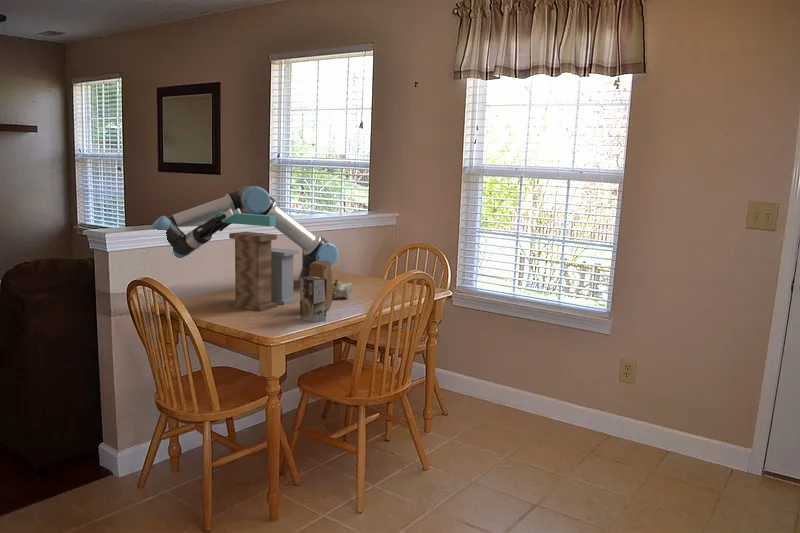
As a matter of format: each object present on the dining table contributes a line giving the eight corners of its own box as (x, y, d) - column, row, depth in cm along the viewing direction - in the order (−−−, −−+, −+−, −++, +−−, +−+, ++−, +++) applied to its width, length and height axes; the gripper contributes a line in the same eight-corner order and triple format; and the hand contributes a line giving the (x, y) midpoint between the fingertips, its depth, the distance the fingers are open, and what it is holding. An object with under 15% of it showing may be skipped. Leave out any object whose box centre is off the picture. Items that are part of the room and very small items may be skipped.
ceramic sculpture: (353, 280, 271) (319, 283, 268) (354, 300, 272) (320, 302, 269) (350, 276, 281) (317, 279, 278) (351, 295, 282) (318, 298, 279)
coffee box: (327, 320, 235) (327, 278, 233) (313, 322, 231) (313, 280, 228) (312, 315, 242) (313, 275, 239) (299, 318, 237) (299, 276, 235)
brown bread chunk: (323, 313, 247) (323, 263, 244) (306, 311, 249) (306, 262, 246) (334, 307, 257) (335, 260, 254) (318, 305, 259) (318, 258, 256)
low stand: (254, 300, 267) (254, 249, 263) (269, 296, 275) (269, 247, 272) (284, 304, 260) (284, 252, 256) (298, 300, 268) (298, 250, 265)
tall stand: (230, 306, 253) (229, 233, 249) (246, 302, 262) (245, 231, 258) (261, 311, 246) (260, 236, 242) (276, 306, 255) (276, 234, 251)
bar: (215, 221, 255) (215, 212, 255) (222, 221, 259) (222, 211, 258) (269, 226, 243) (269, 216, 242) (275, 225, 246) (275, 215, 246)
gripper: (217, 242, 270) (253, 218, 259) (187, 246, 255) (224, 221, 244) (210, 227, 271) (246, 202, 260) (180, 229, 256) (217, 204, 245)
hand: (235, 211), depth 252 cm, fingers closed on bar, 4 cm apart
